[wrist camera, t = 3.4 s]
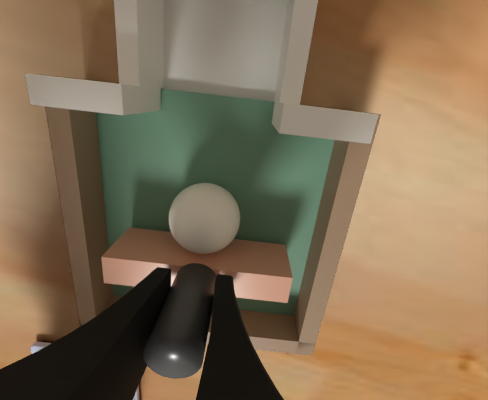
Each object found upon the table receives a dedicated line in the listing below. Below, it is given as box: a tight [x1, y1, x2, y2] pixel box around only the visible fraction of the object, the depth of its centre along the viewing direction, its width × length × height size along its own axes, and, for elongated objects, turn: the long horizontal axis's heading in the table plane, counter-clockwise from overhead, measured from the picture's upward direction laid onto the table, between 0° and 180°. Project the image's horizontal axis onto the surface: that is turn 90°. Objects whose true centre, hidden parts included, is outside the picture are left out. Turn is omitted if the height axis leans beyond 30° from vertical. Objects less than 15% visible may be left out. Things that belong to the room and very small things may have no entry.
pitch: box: [25, 0, 381, 355], centre depth 13 cm, size 19×14×5 cm
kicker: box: [101, 227, 293, 378], centre depth 12 cm, size 2×9×7 cm, turn 84°
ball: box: [169, 183, 240, 254], centre depth 13 cm, size 4×4×4 cm
